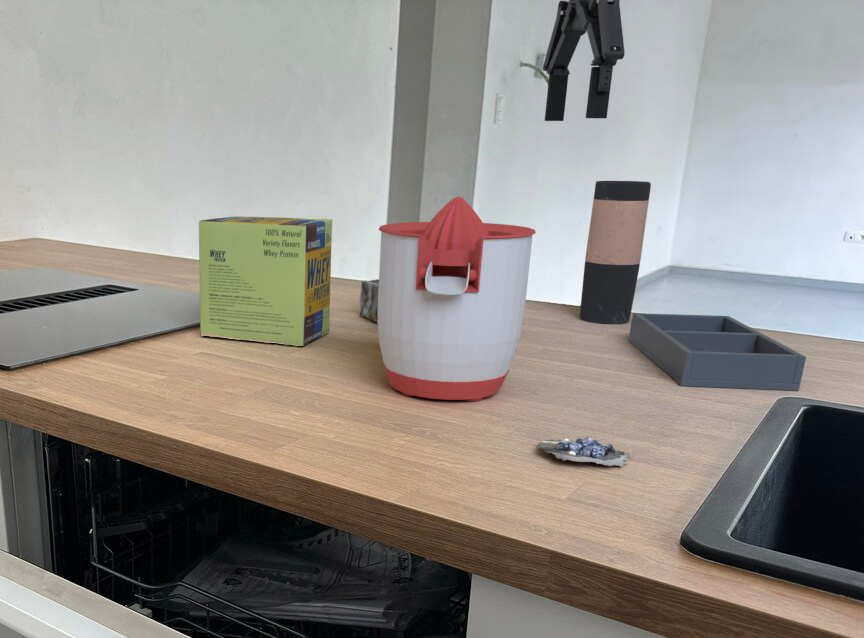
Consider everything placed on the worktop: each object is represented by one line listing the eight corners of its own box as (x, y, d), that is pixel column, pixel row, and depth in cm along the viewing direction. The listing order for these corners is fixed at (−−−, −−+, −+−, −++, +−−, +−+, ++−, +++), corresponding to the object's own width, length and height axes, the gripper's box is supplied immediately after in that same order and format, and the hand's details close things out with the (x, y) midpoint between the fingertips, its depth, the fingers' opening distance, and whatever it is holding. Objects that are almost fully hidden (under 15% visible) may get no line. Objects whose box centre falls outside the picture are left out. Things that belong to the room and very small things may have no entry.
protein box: (304, 348, 111) (307, 224, 106) (198, 337, 117) (196, 220, 112) (331, 332, 120) (334, 218, 115) (231, 323, 126) (230, 214, 121)
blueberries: (521, 448, 75) (523, 427, 74) (598, 439, 77) (600, 419, 76) (569, 475, 69) (572, 452, 68) (651, 464, 71) (655, 442, 70)
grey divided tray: (723, 344, 114) (728, 315, 113) (799, 391, 93) (806, 356, 91) (628, 340, 116) (632, 313, 115) (680, 386, 94) (686, 352, 93)
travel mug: (567, 316, 133) (584, 180, 126) (609, 313, 135) (628, 180, 128) (598, 325, 126) (618, 183, 119) (642, 322, 128) (664, 182, 121)
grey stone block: (352, 314, 133) (354, 274, 131) (410, 311, 136) (413, 272, 134) (409, 342, 115) (413, 297, 113) (475, 339, 118) (479, 294, 116)
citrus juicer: (357, 407, 86) (366, 200, 79) (381, 366, 102) (390, 191, 95) (519, 420, 82) (542, 204, 76) (518, 376, 98) (537, 193, 91)
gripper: (530, -29, 129) (516, 121, 137) (611, -68, 106) (589, 116, 113) (577, -28, 130) (561, 122, 137) (668, -66, 107) (643, 117, 114)
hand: (573, 120), depth 125 cm, fingers open, 13 cm apart
